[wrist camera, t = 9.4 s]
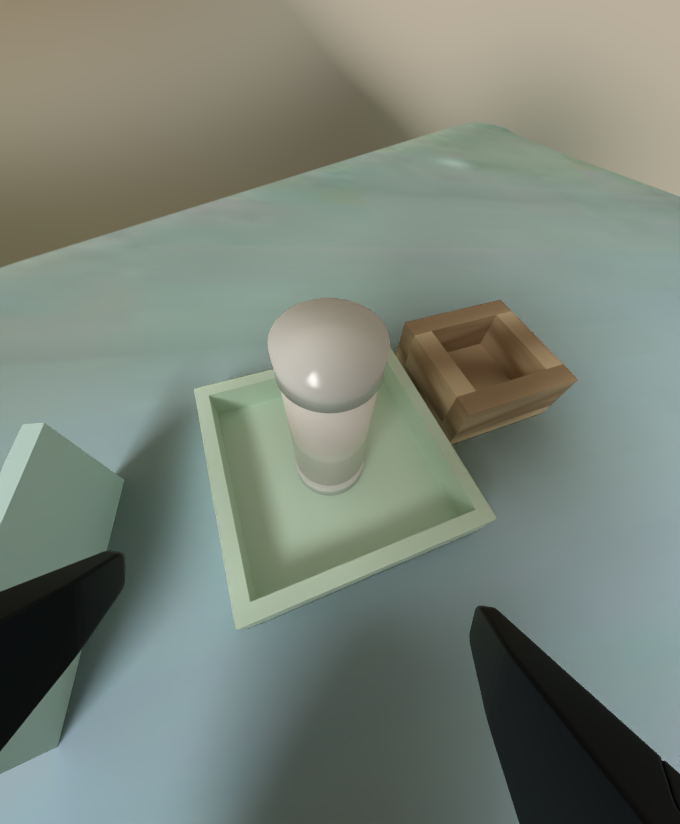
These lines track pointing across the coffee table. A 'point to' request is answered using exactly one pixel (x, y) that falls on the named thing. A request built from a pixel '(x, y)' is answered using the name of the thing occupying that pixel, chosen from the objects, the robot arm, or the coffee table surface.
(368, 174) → the coffee table surface
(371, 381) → the ball
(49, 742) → the right angle wall
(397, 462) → the parts tray
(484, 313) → the tan square frame block
